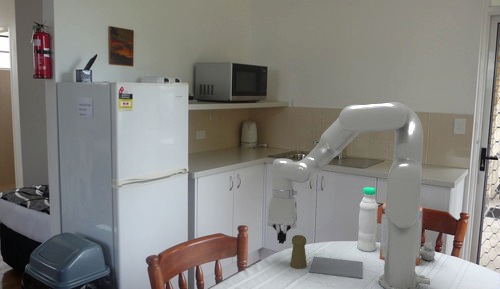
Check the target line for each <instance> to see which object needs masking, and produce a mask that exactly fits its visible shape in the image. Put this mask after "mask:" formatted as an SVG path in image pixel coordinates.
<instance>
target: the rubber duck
mask: <svg viewBox="0 0 500 289" xmlns="http://www.w3.org/2000/svg"><path fill="white" fill-rule="evenodd" d="M433 248H434V246H433V244H432V242H431V241H430V239H429V240H428V241H425V243H424V244H423V246H421V249H420V258H422V259H423V260H426V261H431V260H434V258H435V256H436V254H435V251H434V250H433Z"/></svg>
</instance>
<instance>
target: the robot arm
mask: <svg viewBox="0 0 500 289" xmlns="http://www.w3.org/2000/svg"><path fill="white" fill-rule="evenodd" d="M377 132H378V133H382V132H384V133H385V132H394V143H393V147H394V148H393V156H392V157H393V158H392V164H391V166H390V168H389V171H388V173H387V181H386V195H385V203H386V204H385V214H386V217H387V230H386V246H385V259H384V264H383V265H384V268H383V274H381V275H379V277H378V283H379V285H380V286H381V287H382V288H384V289H420V284H423V285H431V278H428V277H426V275H419V274H418V273H416V265H415V263H416V248H417V236H418V222H419V211H420V207H421V204H420V200H421V190H422V180H423V168H422V166H423V153H424V152H423V151H424V129H423V125H422V122H421V120H420V118H419V116H418V114H417V113H416V112H415V111H414V110H413V109H411V108H410V107H409V106H407V105H405V104H403V103H401V102H398V101H391V102H385V103H374V104H373V103H371V104H350V105H347V106H345V107H344V108H343V109H342V110H341V111H340V113H339V116H338V117H337V118H336V120H335V121H334V122H333V123H332V124H331V125H330V126H329V127H328V128H327V129H326V130H325V131H324V132H323V133H322V134H321V135H320V136H321V137H319V141H318V142H317V144H316V145H315V146H314V148H313V149H312V150H310V152H309V153H308V154H306V156H305V157H304V158H303V159H301V160H299V161H293V160H292V159H289V158H276V159H274V160H273V162H272V182H271V183H272V192H271V195H270V198H269V202H268V209H267V210H268V212H267V226H269V227H270V228H273V229H274V230H275V231H276V233H277V234H276V235H277V236H276V239H277V241H278V244H282V245H283V244H284V243H285V242H286V240H287V232H288V231H289V230H291V229H296V228H298V225H297V222H298V221H297V219H298V212H297V210H298V207H297V199H296V195H298V191H297V190H295V189H294V183H299V184H305V183H308V182H310V181H311V180H312V179H314V177H316V176H318V174H319V173H320V172H322V171H323V169H324V168H325V167H327V165H328V164H329V163H330V162H331V161H332V160H334V158H335V157H337V156H338V155H340V153H341V152H342V151H343V150H344V149H346V147H347V146H348V145H349V144H350V143H351V142H352V141H353V140H354V139H356V137H357V136H358V135H359V134H360V133H377ZM281 226H283V229H282V227H281Z"/></svg>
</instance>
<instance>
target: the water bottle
mask: <svg viewBox="0 0 500 289" xmlns="http://www.w3.org/2000/svg"><path fill="white" fill-rule="evenodd" d="M362 193H363V197H362V200H361V201H360V203H359V215H358V232H357V233H358V234H357V235H358V236H357V238H358V240H357V248H358V249H359V250H360V251H363V252H373V251H375V250H376V249H377V248H376V246H377V242H376V241H377V228H378V227H377V226H378V209H379V205H378V203H377V200H376V198H375V196H376V194H377V190H376V188H375V187H371V186H367V187H363V191H362Z"/></svg>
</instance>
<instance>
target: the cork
mask: <svg viewBox="0 0 500 289" xmlns="http://www.w3.org/2000/svg"><path fill="white" fill-rule="evenodd" d="M291 244H292V249H291V250H292V251H291V256H290V262H289V265H290V267H291V268H293V269H297V270H299V269H305V268H307V255H306V244H307V239H306V236H305V235H301V234H297V235H296V234H295V235H293V236H292V238H291Z"/></svg>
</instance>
